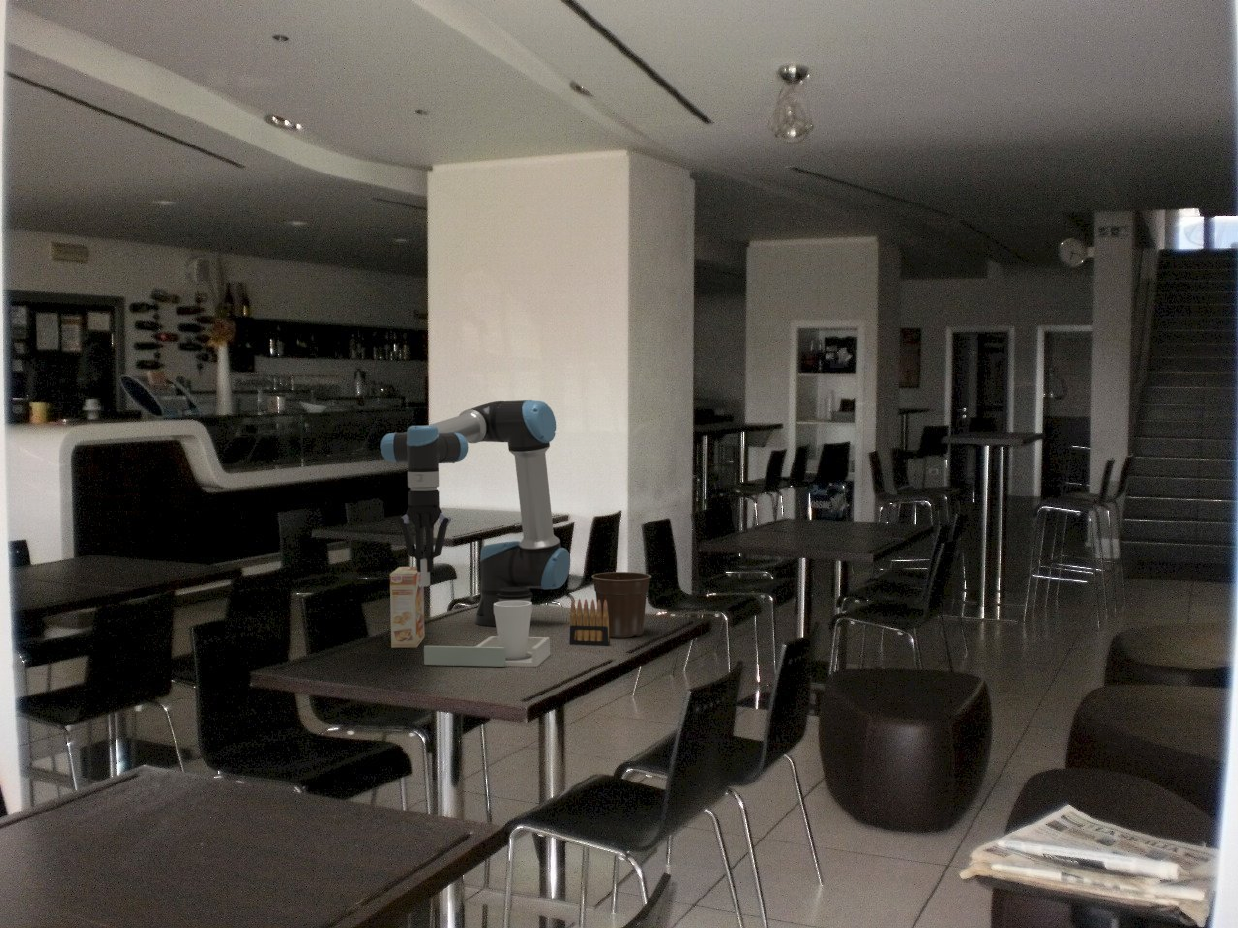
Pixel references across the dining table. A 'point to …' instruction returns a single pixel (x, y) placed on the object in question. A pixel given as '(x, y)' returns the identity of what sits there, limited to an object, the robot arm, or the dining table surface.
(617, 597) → the plant pot
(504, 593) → the coffee cup
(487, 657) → the gate
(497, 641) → the housing
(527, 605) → the foam cup
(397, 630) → the coffeecake box
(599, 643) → the ammunition clip
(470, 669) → the dining table surface
